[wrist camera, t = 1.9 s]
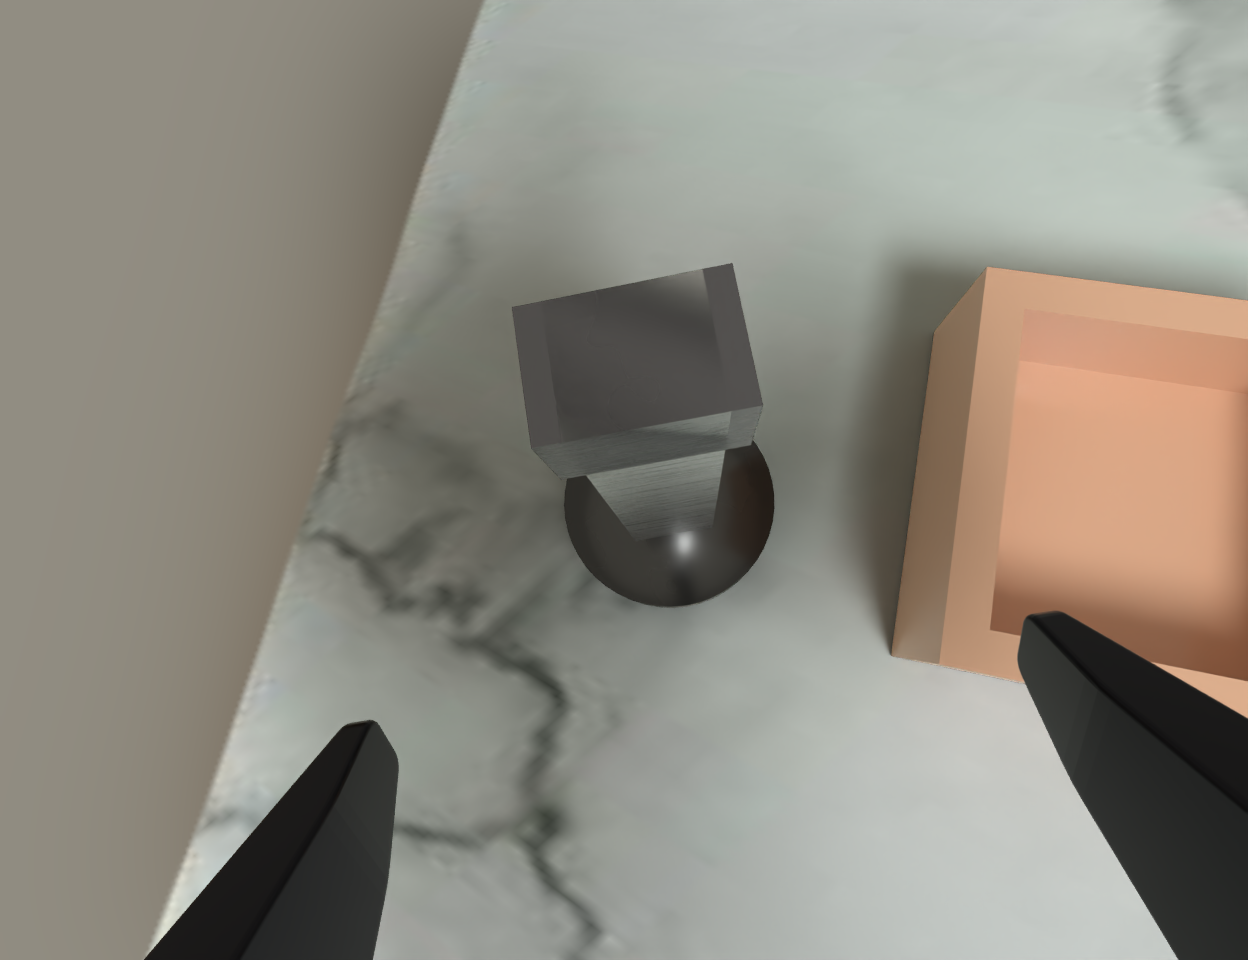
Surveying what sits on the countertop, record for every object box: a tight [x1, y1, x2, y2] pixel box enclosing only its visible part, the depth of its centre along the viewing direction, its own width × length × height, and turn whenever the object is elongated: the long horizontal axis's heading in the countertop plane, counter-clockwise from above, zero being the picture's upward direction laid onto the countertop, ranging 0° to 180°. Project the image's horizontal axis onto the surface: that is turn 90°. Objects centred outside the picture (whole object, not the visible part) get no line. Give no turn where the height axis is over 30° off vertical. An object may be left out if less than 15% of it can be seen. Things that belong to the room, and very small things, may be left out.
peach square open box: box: [891, 267, 1248, 718], centre depth 18 cm, size 10×10×4 cm
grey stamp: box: [512, 263, 774, 608], centre depth 15 cm, size 6×6×12 cm
